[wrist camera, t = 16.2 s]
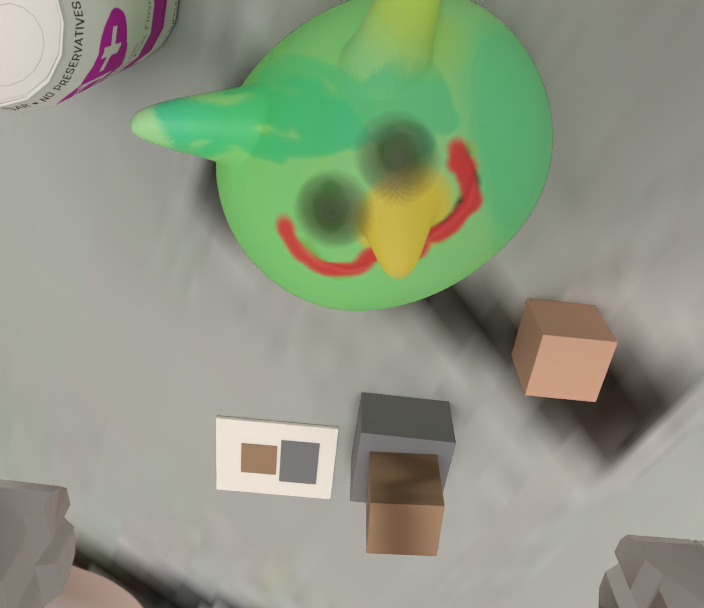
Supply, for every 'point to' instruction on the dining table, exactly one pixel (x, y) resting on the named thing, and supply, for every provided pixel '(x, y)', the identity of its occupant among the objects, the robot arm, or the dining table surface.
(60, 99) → the supplement can
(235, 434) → the card
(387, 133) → the toy bird
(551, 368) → the terracotta cube
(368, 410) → the charcoal base block
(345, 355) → the dining table surface
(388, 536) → the walnut cube
